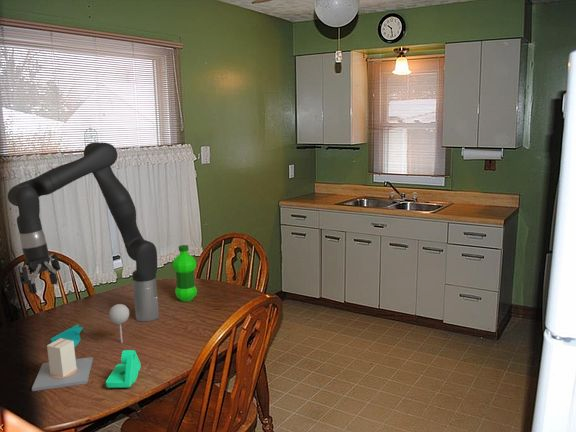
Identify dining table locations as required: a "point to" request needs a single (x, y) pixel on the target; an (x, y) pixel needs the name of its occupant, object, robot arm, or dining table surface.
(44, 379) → the base
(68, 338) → the cloth
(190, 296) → the plastic bottle
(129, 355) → the camera mount
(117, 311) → the lollipop
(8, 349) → the dining table surface
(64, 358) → the striped cream block
